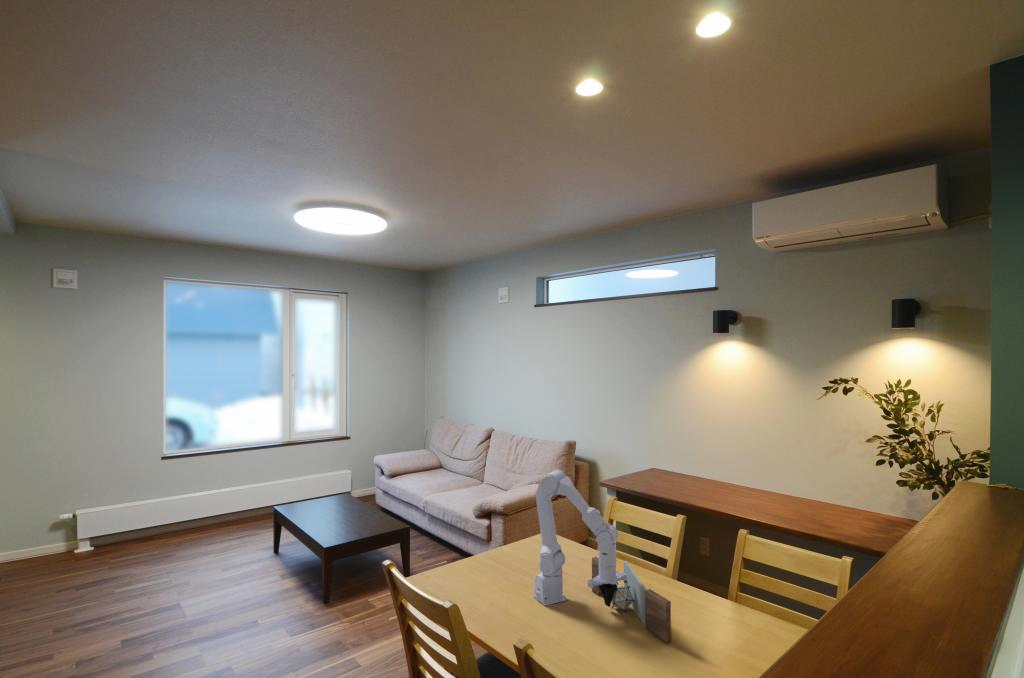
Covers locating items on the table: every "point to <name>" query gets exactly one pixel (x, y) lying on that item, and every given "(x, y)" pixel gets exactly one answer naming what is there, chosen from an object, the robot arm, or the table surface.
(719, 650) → the table surface
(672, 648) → the table surface
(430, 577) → the table surface
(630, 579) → the door
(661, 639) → the wall frame
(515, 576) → the table surface
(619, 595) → the game die
